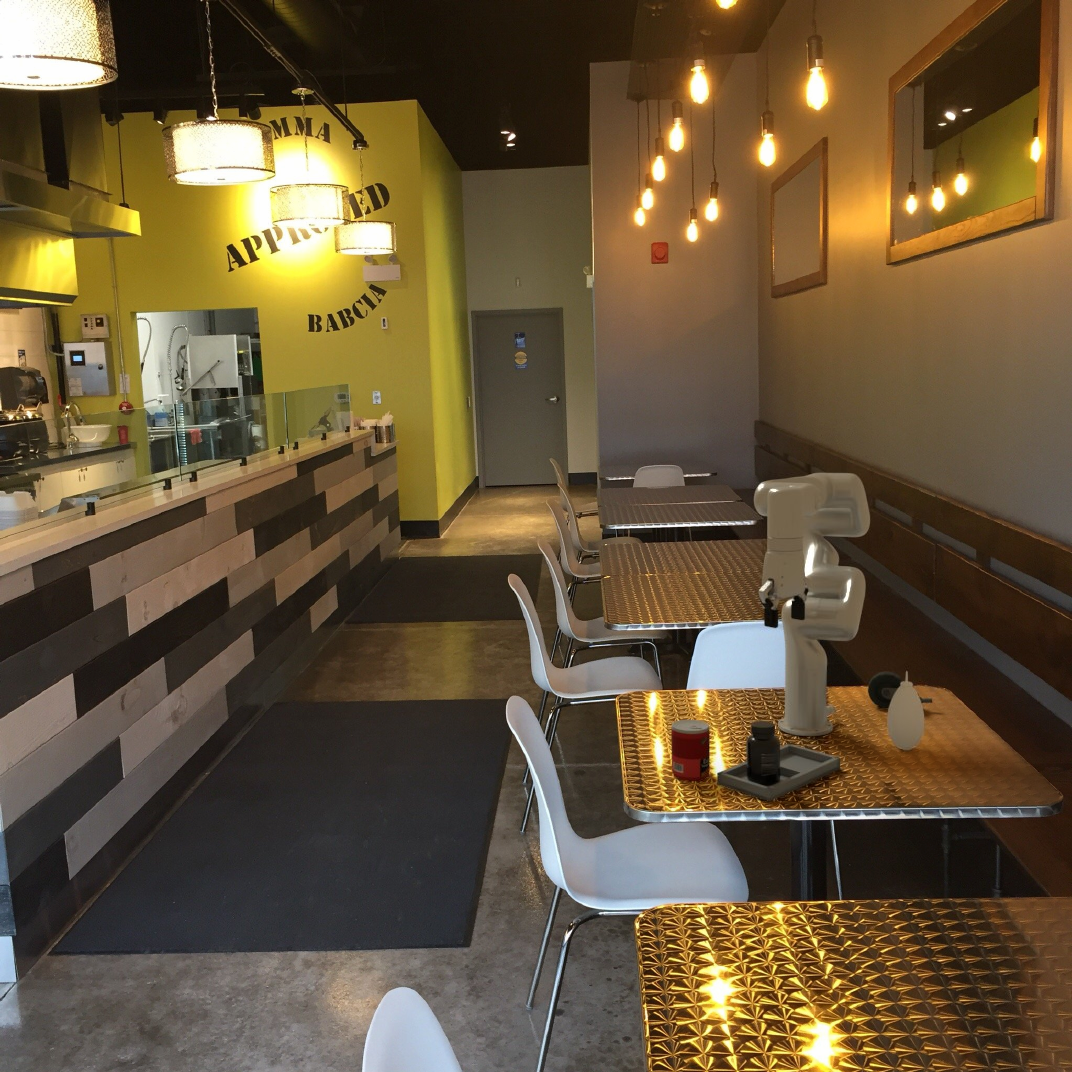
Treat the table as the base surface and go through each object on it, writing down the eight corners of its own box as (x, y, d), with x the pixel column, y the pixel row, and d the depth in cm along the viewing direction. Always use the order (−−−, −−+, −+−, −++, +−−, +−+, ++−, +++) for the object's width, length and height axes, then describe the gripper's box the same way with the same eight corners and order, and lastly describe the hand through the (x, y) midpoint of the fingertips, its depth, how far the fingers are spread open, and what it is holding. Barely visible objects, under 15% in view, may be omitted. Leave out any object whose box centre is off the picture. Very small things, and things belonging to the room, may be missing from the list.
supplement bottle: (783, 776, 220) (783, 721, 218) (776, 788, 214) (776, 731, 212) (750, 772, 223) (750, 717, 221) (742, 783, 217) (742, 727, 215)
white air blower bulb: (885, 753, 234) (886, 674, 232) (887, 741, 242) (889, 665, 239) (922, 756, 232) (925, 676, 229) (924, 745, 239) (926, 667, 236)
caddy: (788, 754, 235) (788, 743, 235) (840, 769, 226) (840, 757, 225) (717, 784, 219) (717, 773, 219) (769, 801, 209) (769, 789, 209)
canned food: (709, 782, 220) (708, 731, 219) (670, 780, 222) (669, 730, 220) (710, 769, 228) (710, 719, 226) (673, 767, 229) (672, 718, 228)
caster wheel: (868, 713, 266) (932, 712, 260) (865, 675, 265) (929, 674, 259) (870, 706, 271) (933, 706, 265) (867, 669, 270) (930, 668, 264)
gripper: (794, 538, 235) (793, 614, 237) (746, 548, 224) (745, 627, 226) (823, 541, 229) (822, 619, 232) (775, 551, 218) (775, 632, 221)
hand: (784, 623), depth 229 cm, fingers open, 9 cm apart
